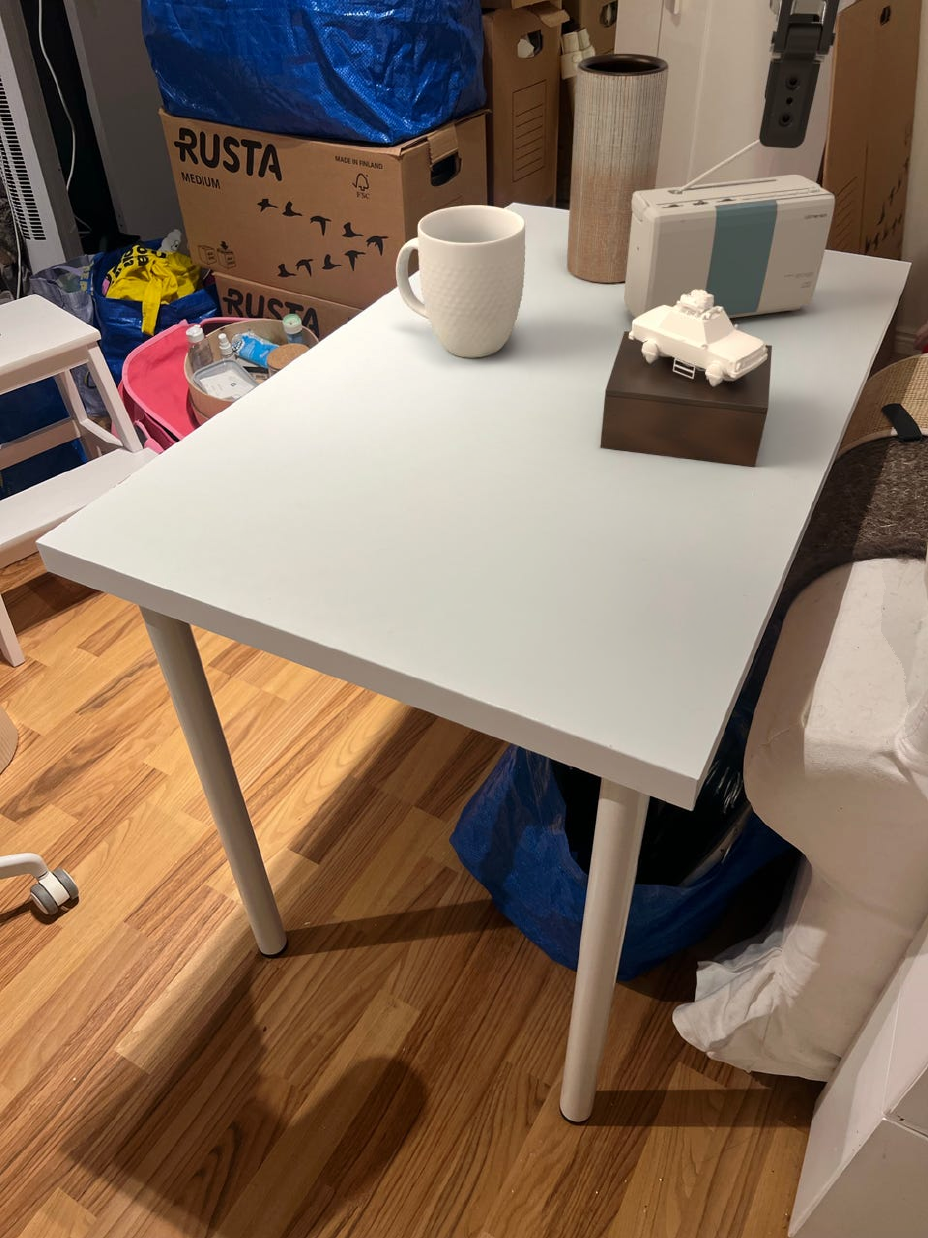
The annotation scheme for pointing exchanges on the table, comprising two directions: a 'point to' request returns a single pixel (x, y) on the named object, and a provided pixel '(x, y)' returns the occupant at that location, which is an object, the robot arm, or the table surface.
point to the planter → (612, 158)
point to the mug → (467, 276)
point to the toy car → (698, 338)
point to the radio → (729, 243)
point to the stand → (683, 409)
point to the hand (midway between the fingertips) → (781, 122)
